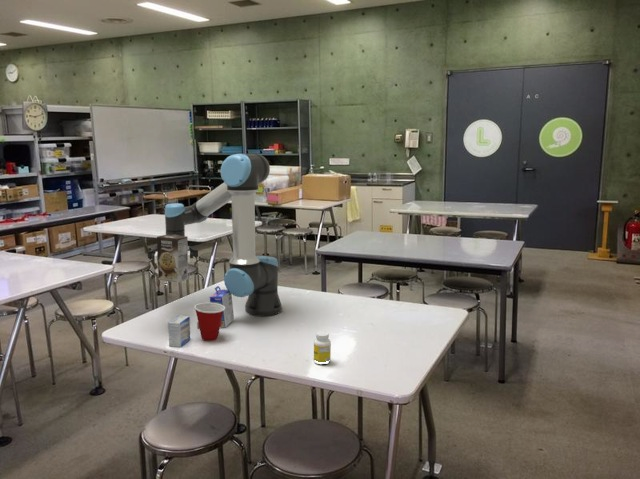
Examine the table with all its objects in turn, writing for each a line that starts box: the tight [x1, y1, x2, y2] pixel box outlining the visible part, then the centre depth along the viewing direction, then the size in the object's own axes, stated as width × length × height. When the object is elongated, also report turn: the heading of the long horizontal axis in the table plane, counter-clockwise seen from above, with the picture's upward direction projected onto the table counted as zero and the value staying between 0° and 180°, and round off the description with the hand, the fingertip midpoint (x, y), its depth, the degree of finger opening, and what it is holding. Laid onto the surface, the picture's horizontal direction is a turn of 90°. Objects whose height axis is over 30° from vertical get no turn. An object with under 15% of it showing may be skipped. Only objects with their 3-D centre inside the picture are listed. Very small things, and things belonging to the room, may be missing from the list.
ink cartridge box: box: [209, 285, 235, 328], centre depth 202 cm, size 10×6×14 cm, turn 170°
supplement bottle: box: [313, 330, 332, 362], centre depth 169 cm, size 5×5×10 cm
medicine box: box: [167, 315, 191, 348], centre depth 183 cm, size 8×4×9 cm, turn 168°
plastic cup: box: [193, 302, 225, 342], centre depth 187 cm, size 11×11×12 cm
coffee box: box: [156, 234, 189, 284], centre depth 191 cm, size 9×6×16 cm
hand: (172, 258), depth 186 cm, fingers closed on coffee box, 10 cm apart
